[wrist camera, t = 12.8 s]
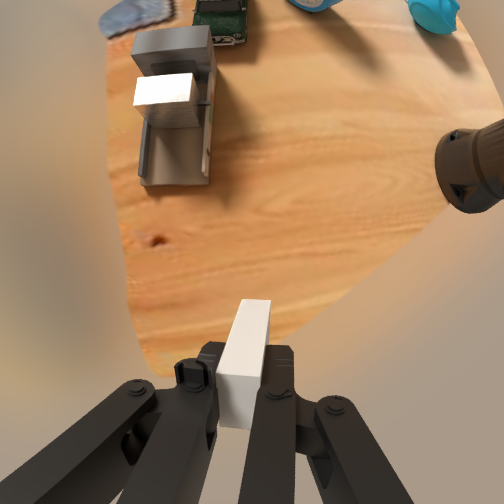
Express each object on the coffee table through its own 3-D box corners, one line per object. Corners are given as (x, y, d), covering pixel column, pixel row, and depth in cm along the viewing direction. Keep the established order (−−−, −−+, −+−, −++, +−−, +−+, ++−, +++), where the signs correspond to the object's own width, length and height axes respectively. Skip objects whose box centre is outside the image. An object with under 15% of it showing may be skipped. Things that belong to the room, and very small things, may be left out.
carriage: (214, 102, 40) (207, 72, 31) (213, 126, 41) (204, 100, 32) (157, 105, 40) (138, 78, 31) (154, 129, 40) (133, 105, 31)
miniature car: (192, 52, 42) (184, 25, 34) (202, -12, 41) (197, -38, 33) (246, 51, 42) (246, 22, 34) (248, -14, 41) (248, -41, 33)
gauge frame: (217, 67, 42) (210, 24, 30) (210, 185, 43) (196, 167, 31) (157, 71, 42) (136, 33, 30) (143, 186, 43) (111, 170, 31)
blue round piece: (445, 52, 42) (474, 26, 30) (398, 26, 41) (421, -7, 30) (444, 19, 41) (467, -7, 30) (400, -5, 41) (420, -35, 29)
